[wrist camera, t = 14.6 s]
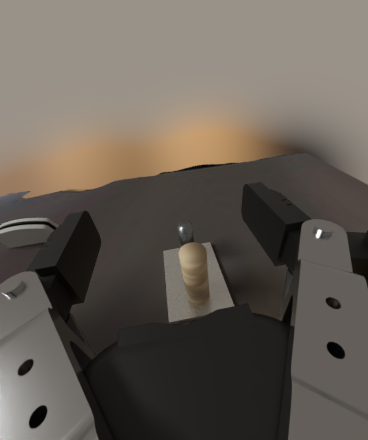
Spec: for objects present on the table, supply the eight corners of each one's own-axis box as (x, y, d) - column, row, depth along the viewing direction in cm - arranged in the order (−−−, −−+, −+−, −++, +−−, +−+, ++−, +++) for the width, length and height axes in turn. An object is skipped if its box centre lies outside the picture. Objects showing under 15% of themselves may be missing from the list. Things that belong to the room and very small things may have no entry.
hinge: (68, 229, 64) (48, 210, 55) (65, 241, 61) (44, 224, 53) (17, 237, 63) (-11, 220, 55) (12, 250, 60) (-18, 234, 52)
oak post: (189, 308, 35) (180, 265, 28) (185, 288, 39) (177, 245, 32) (212, 304, 35) (209, 259, 28) (206, 284, 39) (202, 240, 32)
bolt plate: (169, 325, 34) (157, 288, 28) (164, 253, 49) (155, 218, 42) (235, 311, 35) (237, 272, 28) (210, 245, 49) (208, 209, 43)
